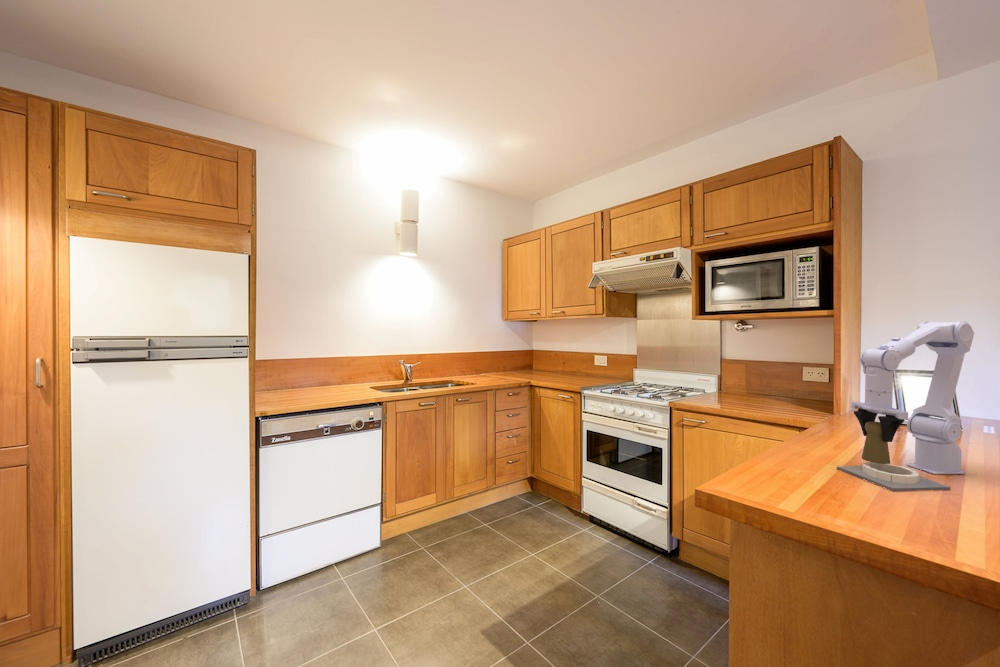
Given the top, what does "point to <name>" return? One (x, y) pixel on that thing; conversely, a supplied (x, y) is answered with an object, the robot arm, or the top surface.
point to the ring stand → (892, 477)
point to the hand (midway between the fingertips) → (877, 438)
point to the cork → (875, 444)
